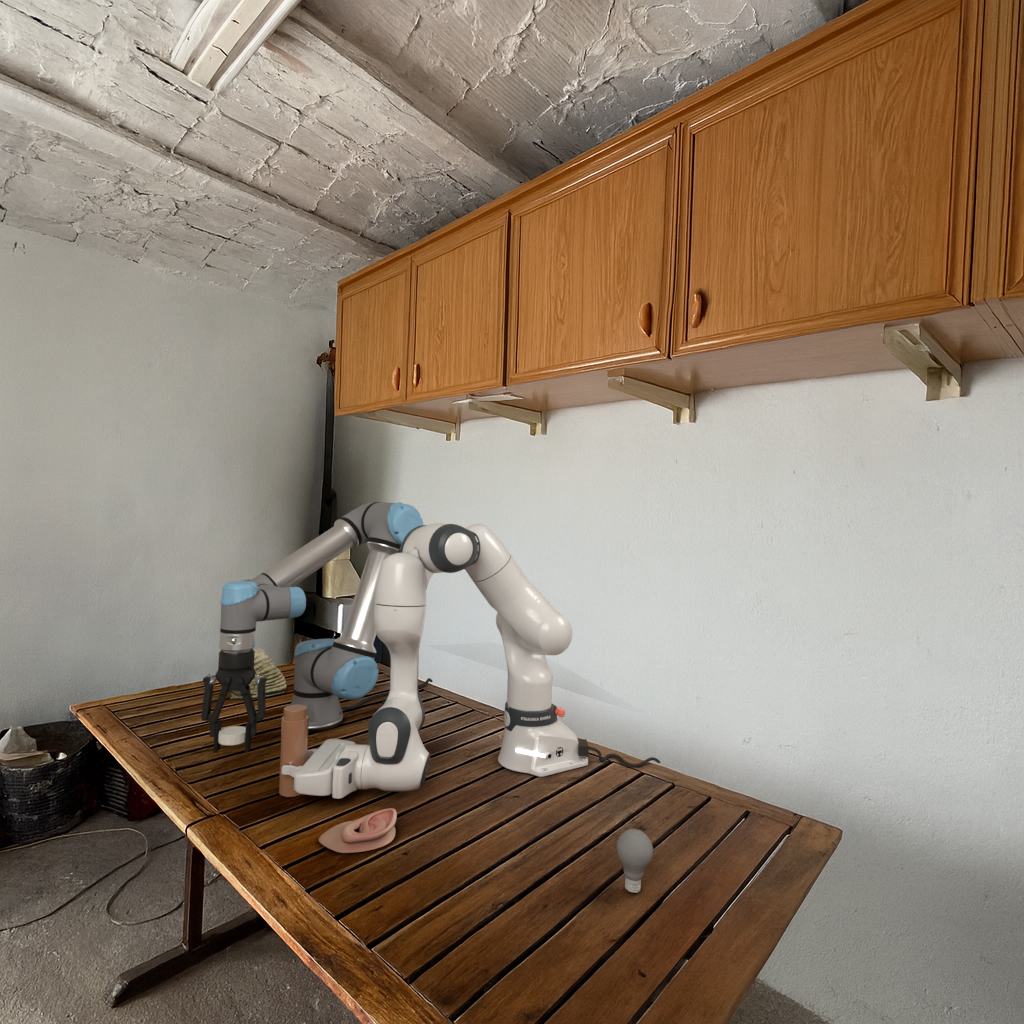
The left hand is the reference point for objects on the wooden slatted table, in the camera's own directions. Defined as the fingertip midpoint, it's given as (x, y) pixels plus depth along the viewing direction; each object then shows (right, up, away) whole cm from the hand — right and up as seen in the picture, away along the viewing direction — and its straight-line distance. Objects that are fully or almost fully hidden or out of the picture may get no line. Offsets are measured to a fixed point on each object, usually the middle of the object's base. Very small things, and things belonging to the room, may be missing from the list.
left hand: (232, 750), depth 145 cm
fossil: (-17, -3, +53) cm, 56 cm away
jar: (+17, -5, -9) cm, 20 cm away
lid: (0, +4, 0) cm, 4 cm away
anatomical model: (+35, -6, -27) cm, 45 cm away
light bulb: (+84, -9, -39) cm, 93 cm away
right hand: (+16, +1, -9) cm, 19 cm away
